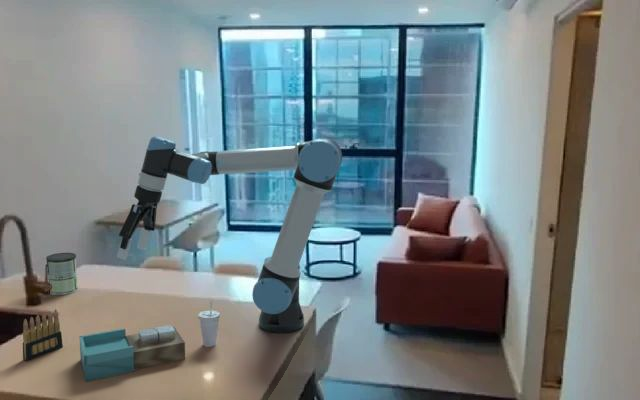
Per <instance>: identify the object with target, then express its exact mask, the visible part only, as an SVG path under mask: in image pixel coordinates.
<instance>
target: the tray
mask: <svg viewBox="0 0 640 400" xmlns="http://www.w3.org/2000/svg"><path fill="white" fill-rule="evenodd" d="M126 336H127V334H126V328H120V329H115V330H109V331H108V330H107V331H103V332H97V333H90V334H85V335H79V337H78V338H79V355H80V363H81V368H82V371H83V372H82V373H83V377H84V382H85V383H87V382H91V381H95V380H101V379H103V378H104V379H105V378H109V377H110V378H111V377H114V376H117V375H118V376H119V375H122V374H126V373H131V372H132V373H133V372H135V370H134V356H133V346H129V344H128V342H127V339H126Z"/></svg>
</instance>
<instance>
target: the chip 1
mask: <svg viewBox="0 0 640 400" xmlns="http://www.w3.org/2000/svg"><path fill="white" fill-rule="evenodd" d="M138 334H139V340H140V342H141V344H142V345H144V344H149V343H154V342H158V332H157V331H156V327H151V328H144V329H139V330H138Z"/></svg>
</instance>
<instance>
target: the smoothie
mask: <svg viewBox="0 0 640 400" xmlns="http://www.w3.org/2000/svg"><path fill="white" fill-rule="evenodd" d="M212 301H213V299H210V300H209V309H208V310H203V311H201V312H199V313H198V315H197V316H198V320H199V324H200V331H201V336H202V344H203V346H204V347H206V348H211V347H212V348H213V347H215V346H216V345H217V336H218V329H219V320H220V318H221V313H220V311H217V310H213V302H212Z"/></svg>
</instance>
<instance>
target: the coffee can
mask: <svg viewBox="0 0 640 400" xmlns="http://www.w3.org/2000/svg"><path fill="white" fill-rule="evenodd" d="M76 258H77V254H76V253H73V252H57V253H53V254H50V255H47V256H46V257H45V259H46V268H47V267H48V271H47V281H48V280H49V282H50V283H51V284H52V286H53V290H52V291H51V293H50V294H49V295H52V296H65V295H70V294H73V293H75V292H78V289H79V288H78V276H77V275H78V273H77V259H76Z"/></svg>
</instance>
